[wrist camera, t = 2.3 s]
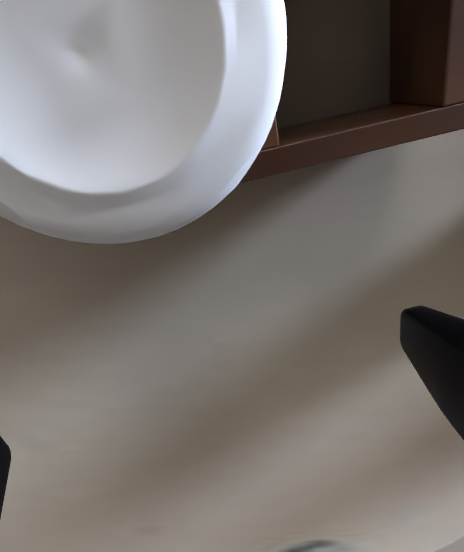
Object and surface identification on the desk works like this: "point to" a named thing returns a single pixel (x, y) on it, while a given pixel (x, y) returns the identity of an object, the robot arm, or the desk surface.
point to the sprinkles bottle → (132, 110)
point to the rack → (403, 97)
